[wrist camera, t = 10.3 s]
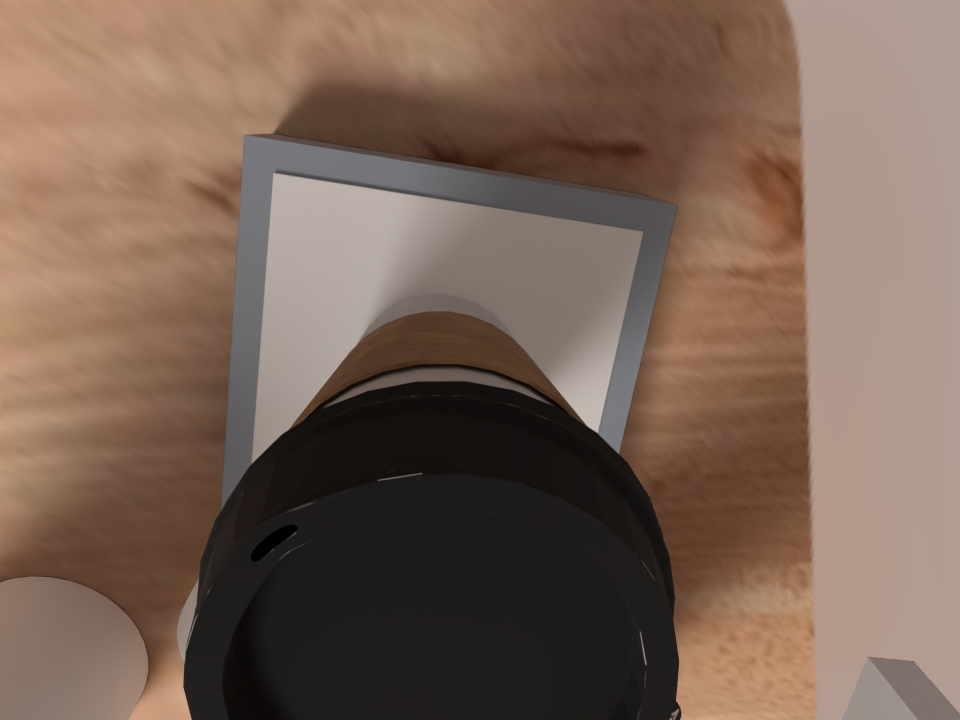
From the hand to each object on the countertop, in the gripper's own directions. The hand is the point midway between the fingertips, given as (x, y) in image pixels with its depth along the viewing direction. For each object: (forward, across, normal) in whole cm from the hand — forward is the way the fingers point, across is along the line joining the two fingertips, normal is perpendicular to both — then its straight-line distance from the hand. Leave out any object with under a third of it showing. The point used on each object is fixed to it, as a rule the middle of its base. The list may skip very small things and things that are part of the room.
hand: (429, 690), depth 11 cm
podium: (+19, 0, -1) cm, 19 cm away
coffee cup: (+15, 0, -1) cm, 15 cm away
